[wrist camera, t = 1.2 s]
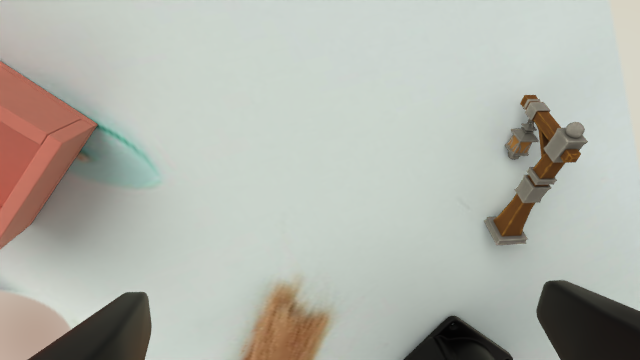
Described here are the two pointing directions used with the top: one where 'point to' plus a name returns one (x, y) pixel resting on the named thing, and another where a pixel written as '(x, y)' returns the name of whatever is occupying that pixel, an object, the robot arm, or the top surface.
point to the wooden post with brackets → (554, 153)
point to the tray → (33, 148)
